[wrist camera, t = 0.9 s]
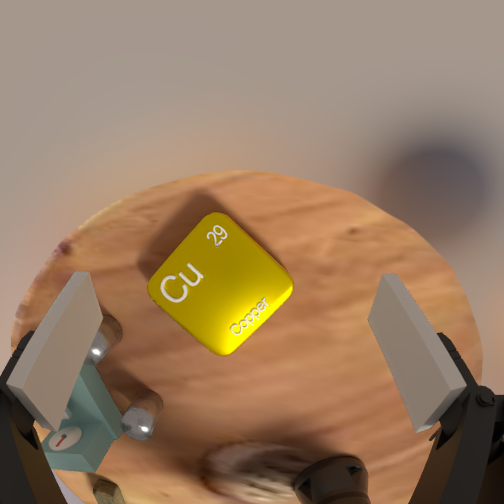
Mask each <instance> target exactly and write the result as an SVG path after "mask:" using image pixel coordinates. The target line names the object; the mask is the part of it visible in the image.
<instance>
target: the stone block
mask: <svg viewBox="0 0 504 504" xmlns="http://www.w3.org/2000/svg"><path fill="white" fill-rule="evenodd" d="M93 494H94V496H95V498H96V500H97V502H98V504H125V502H124V500H123V496H122V494H121V491H120V489H119V487H118V486H116V485H115V484H112V483H109V482H106V481H102V480H98V481H97V482H96V484H95V487H94V488H93Z"/></svg>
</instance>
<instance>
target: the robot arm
mask: <svg viewBox="0 0 504 504" xmlns="http://www.w3.org/2000/svg"><path fill="white" fill-rule="evenodd" d="M102 320H103V316H102V313H101V309H100V306H99V303H98V300H97V297H96V293H95V290H94V287H93V283H92V280H91V276H90V273H89V272H88V271H75V272H74V274H73V275H72V276H71V278H70V279H69V281H68V282H67V284H66V285H65V286H64V288H63V289H62V291H61V292H60V294H59V295H58V297H57V298H56V300H55V301H54V303H53V304H52V306H51V307H50V309H49V310H48V312H47V313H46V315H45V316H44V318H43V320H42V321H41V323H40V324H39V326H38V328H37V329H36V331H30V332H29V333H27V334H26V335H25V336H24V337H23V338H22V339H21V341H20V343H19V344H18V346H17V349H16V350H15V351H14V353H13V354H12V357H11V358H10V360H9V362H8V363H7V365H6V367H5V369H4V371H3V372H2V374H1V376H0V504H68V503H67V502H66V500H65V498H64V496H63V494H62V492H61V490H60V488H59V485H58V483H57V482H56V479H55V477H54V475H53V473H52V470H51V468H50V466H49V463H48V461H47V458H46V456H45V453H44V451H43V448H42V446H41V443H40V440H39V437H38V435H37V432H36V430H35V428H34V426H33V423H34V421H35V420H36V421H37V422H38V423H39V425H40V426H41V427H43V428H46V429H49V430H52V431H55V432H58V429H59V426H60V423H61V420H62V418H63V415H64V412H65V409H66V406H67V404H68V401H69V398H70V396H71V393H72V390H73V388H74V385H75V383H76V380H77V378H78V375H79V373H80V370H81V368H82V365H83V363H84V360H85V358H86V356H87V353H88V351H89V349H90V346H91V344H92V342H93V340H94V337H95V335H96V333H97V331H98V329H99V326H100V324H101V322H102ZM368 322H369V324H370V326H371V328H372V330H373V333H374V335H375V337H376V339H377V341H378V343H379V346H380V348H381V350H382V352H383V355H384V357H385V359H386V361H387V364H388V366H389V368H390V371H391V373H392V375H393V377H394V380H395V382H396V385H397V387H398V389H399V392H400V394H401V397H402V399H403V402H404V404H405V407H406V409H407V412H408V414H409V417H410V419H411V422H412V424H413V427H414V430H415V432H420V431H423V430H427V429H430V428H432V427H433V426H434V425H435V423H436V422H437V421H438V420H439V421H440V424H441V427H440V428H439V429H438V430H437V431H436V432H435V433H434V434H433V435H432V436H431V437H430V439H429V441H432V440H433V439H434V438H435V437H436V438H435V441H434V443H433V446H432V449H431V452H430V454H429V457H428V460H427V462H426V465H425V467H424V470H423V472H422V475H421V477H420V479H419V482H418V484H417V486H416V488H415V491H414V493H413V495H412V497H411V499H410V501H409V503H408V504H504V395H495V394H494V393H493V392H492V391H491V389H489V388H487V387H486V386H478V384H477V383H476V381H475V379H474V378H473V376H472V374H471V373H470V371H469V369H468V367H467V366H466V364H465V362H464V361H463V359H461V356H460V354H459V353H458V351H456V348H455V346H454V345H453V343H452V341H451V340H450V339H449V338H448V337H446V336H445V335H444V334H443V333H442V332H441V333H436V332H435V330H434V329H433V327H432V326H431V324H430V323H429V321H428V319H427V318H426V316H425V315H424V313H423V312H422V310H421V309H420V307H419V306H418V304H417V303H416V301H415V300H414V298H413V297H412V296H411V294H410V293H409V291H408V290H407V288H406V287H405V286H404V284H403V283H402V281H401V280H400V278H399V277H398V276H397V274H382V276H381V279H380V283H379V286H378V289H377V293H376V296H375V299H374V302H373V305H372V308H371V311H370V314H369V317H368ZM295 492H296V496H297V498H298V499H299V501H300V502H301V504H371V502H370V500H369V497H368V472H367V469H366V467H365V465H364V463H363V462H362V461H360V460H359V459H356V458H353V457H335V458H330V459H326V460H323V461H320V462H318V463H316V464H314V465H312V466H310V467H308V468H307V469H305V470H304V471H303V472H302V473H301V474H300V475H299V476H298V477H297V479H296V481H295Z"/></svg>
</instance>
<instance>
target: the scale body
mask: <svg viewBox="0 0 504 504" xmlns="http://www.w3.org/2000/svg"><path fill="white" fill-rule="evenodd" d="M67 407H68V408H69V410H70V412H71V413H72V415H73V416H72V417H71V418H70V419H62V420H61V423H60V426H59V429H58V432H55V431H51V432H50V433H49V434H48V435H47V437H46V438H45V439H44V440H43V441H42V443H41V446H42V448H43V451H44V453H45V456H46V458H47V461H48V463H49V466H50V468H51V469H58V470H68V471H81V472H96V471H97V469H98V467H99V465H100V463H101V462H102V460H103V458H104V456H105V454H106V453H107V451H108V449H109V447H110V446H111V444H112V442H113V440H117V439H119V437H120V436H121V434H122V432H123V430H122V429H121V426H120V421H121V419H122V418H123V416H122V414H121V413H120V411H119V409H118V407H117V406H116V404H115V402H114V401H113V399H112V397H111V395H110V393H109V392H108V390H107V388H106V386H105V384H104V382H103V381H102V379H101V377H100V375H99V373H98V371H97V369H96V367H95V365H92V366H91V365H86V364H84V363H83V365H82V368H81V370H80V373H79V375H78V378H77V380H76V383H75V385H74V388H73V390H72V393H71V396H70V398H69V401H68V404H67Z"/></svg>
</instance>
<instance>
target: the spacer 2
mask: <svg viewBox="0 0 504 504" xmlns="http://www.w3.org/2000/svg"><path fill="white" fill-rule="evenodd" d="M162 408H163V400H162V399H161V397H160V396H159V395H158V394H157V393H155V392H153V391H151V390H141V391H139V392H138V393H137V394H136V396H135V398H134V399H133V401H132V403H131V404H130V406H129V408H128V409H127V411H126V413H125V414H124V416H123V418H122V419H121V421H120V426H121V429H122V430H123V432H124V433H125V434H126V435H127V436H129V437H130V438H132V439H135V440H139V441H144V440H147V439H149V438H150V436H151V434H152V432H153V429H154V427H155V425H156V422H157V420H158V418H159V415H160V413H161V411H162Z"/></svg>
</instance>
